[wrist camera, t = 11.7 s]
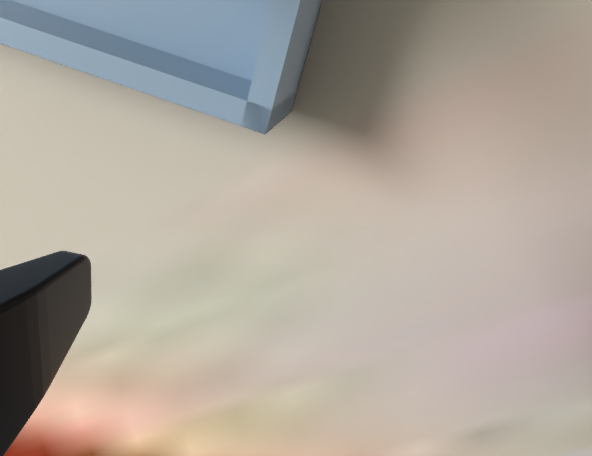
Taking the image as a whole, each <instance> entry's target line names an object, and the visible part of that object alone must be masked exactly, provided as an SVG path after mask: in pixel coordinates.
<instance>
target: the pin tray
mask: <svg viewBox="0 0 592 456" xmlns="http://www.w3.org/2000/svg"><path fill="white" fill-rule="evenodd" d="M321 2H322V0H0V44H3V45H6V46H9V47H12V48H15V49H18V50H21V51H24V52H27V53H30V54H32V55H35V56H38V57H41V58H44V59H47V60H50V61H53V62H56V63H59V64H62V65H65V66H67V67H70V68H73V69H76V70H79V71H82V72H85V73H88V74H91V75H94V76H97V77H100V78H102V79H105V80H108V81H111V82H114V83H117V84H120V85H123V86H126V87H129V88H132V89H135V90H138V91H140V92H143V93H146V94H149V95H152V96H155V97H158V98H161V99H164V100H167V101H170V102H173V103H175V104H178V105H181V106H184V107H187V108H190V109H193V110H196V111H199V112H202V113H205V114H208V115H210V116H213V117H216V118H219V119H222V120H225V121H228V122H231V123H234V124H237V125H240V126H243V127H245V128H248V129H251V130H254V131H257V132H260V133H263V134H266V133H267V132H269V131H270V130H271V129H272V128H273V127H274V126H275V125H277V124H278V123H279V122H280V121H281V120H282V119H283V118H285V117H286V116H287V115H288V114H289V113H290V112H291V110H292V106H293V103H294V99H295V95H296V92H297V88H298V85H299V81H300V77H301V74H302V70H303V67H304V63H305V59H306V56H307V52H308V49H309V45H310V41H311V38H312V34H313V31H314V27H315V23H316V20H317V16H318V13H319V9H320V6H321Z"/></svg>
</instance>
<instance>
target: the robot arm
mask: <svg viewBox="0 0 592 456" xmlns="http://www.w3.org/2000/svg"><path fill="white" fill-rule="evenodd" d="M90 306H91V263H90V260H89V258H88V257H87V256H85V255H82V254H77V253H72V252H68V251H59V252H56V253H53V254H49V255H46V256H43V257H40V258H37V259H34V260H31V261H27V262H24V263H21V264H18V265H15V266H12V267H8V268H5V269H2V270H0V456H4V454H5V453H6V451H7V450H8V448H9V447H10V446H11V444H12V443H13V441H14V440H15V438H16V437H17V435H18V434H19V432H20V431H21V430H22V428H23V427H24V425H25V424H26V422H27V421H28V419H29V418H30V416H31V415H32V414H33V412H34V411H35V409H36V408H37V406H38V405H39V403H40V401H41V400H42V398H43V397H44V395H45V393H46V392H47V390H48V388H49V386H50V385H51V383H52V381H53V379H54V377H55V375H56V373H57V372H58V370H59V368H60V366H61V364H62V362H63V360H64V358H65V357H66V355H67V353H68V351H69V349H70V347H71V345H72V343H73V342H74V340H75V338H76V336H77V334H78V332H79V330H80V328H81V327H82V325H83V323H84V321H85V319H86V317H87V315H88V313H89V310H90Z"/></svg>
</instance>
